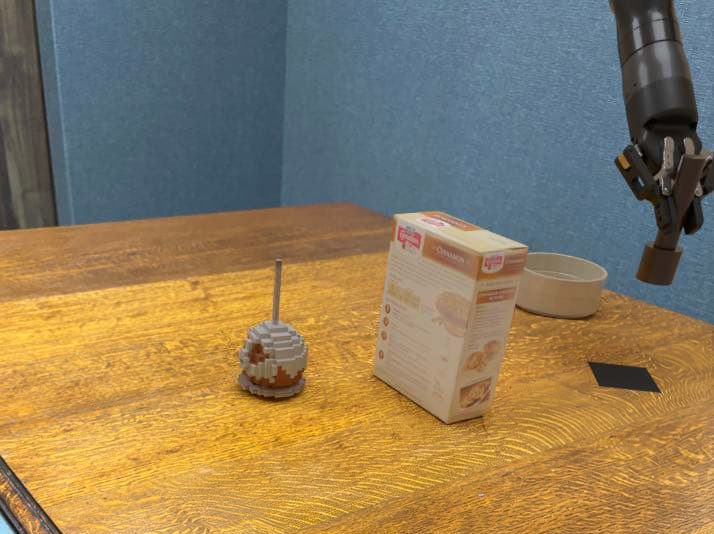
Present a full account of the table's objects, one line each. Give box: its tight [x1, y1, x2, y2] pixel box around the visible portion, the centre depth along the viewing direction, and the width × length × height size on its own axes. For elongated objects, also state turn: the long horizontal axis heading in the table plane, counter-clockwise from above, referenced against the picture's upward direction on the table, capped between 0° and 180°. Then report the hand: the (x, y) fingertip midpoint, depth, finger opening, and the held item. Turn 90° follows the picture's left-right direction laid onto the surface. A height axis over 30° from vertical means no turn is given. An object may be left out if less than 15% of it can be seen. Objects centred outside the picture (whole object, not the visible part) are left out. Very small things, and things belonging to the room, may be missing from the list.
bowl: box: [515, 251, 609, 320], centre depth 128 cm, size 14×14×6 cm
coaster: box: [587, 360, 662, 394], centre depth 107 cm, size 8×8×1 cm
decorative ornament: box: [237, 258, 309, 399], centre depth 93 cm, size 8×8×15 cm
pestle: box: [635, 154, 706, 287], centre depth 96 cm, size 4×4×14 cm
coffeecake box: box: [372, 210, 530, 425], centre depth 93 cm, size 15×7×20 cm, turn 32°
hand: (682, 230), depth 94 cm, fingers closed on pestle, 2 cm apart
